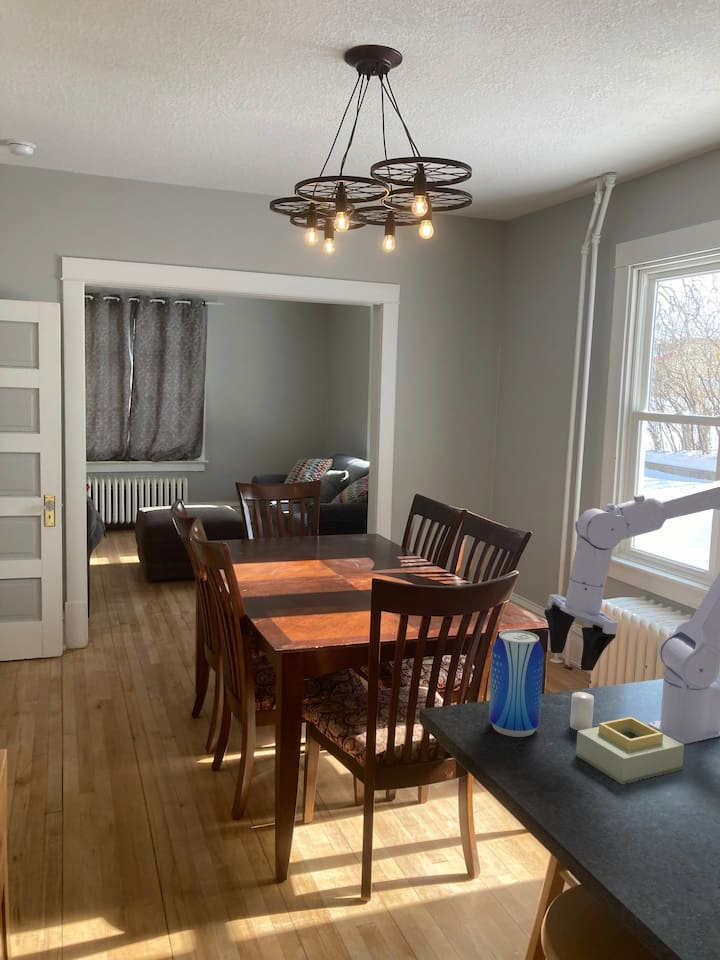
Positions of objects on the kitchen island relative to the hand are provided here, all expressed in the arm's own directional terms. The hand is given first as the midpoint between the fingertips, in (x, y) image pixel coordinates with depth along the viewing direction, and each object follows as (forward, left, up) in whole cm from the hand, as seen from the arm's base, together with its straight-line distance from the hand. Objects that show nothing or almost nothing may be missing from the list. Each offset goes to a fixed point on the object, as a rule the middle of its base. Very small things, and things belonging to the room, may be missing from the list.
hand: (571, 661), depth 133 cm
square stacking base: (-1, +13, -12) cm, 18 cm away
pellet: (-3, 0, -12) cm, 13 cm away
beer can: (+8, -4, -12) cm, 15 cm away
